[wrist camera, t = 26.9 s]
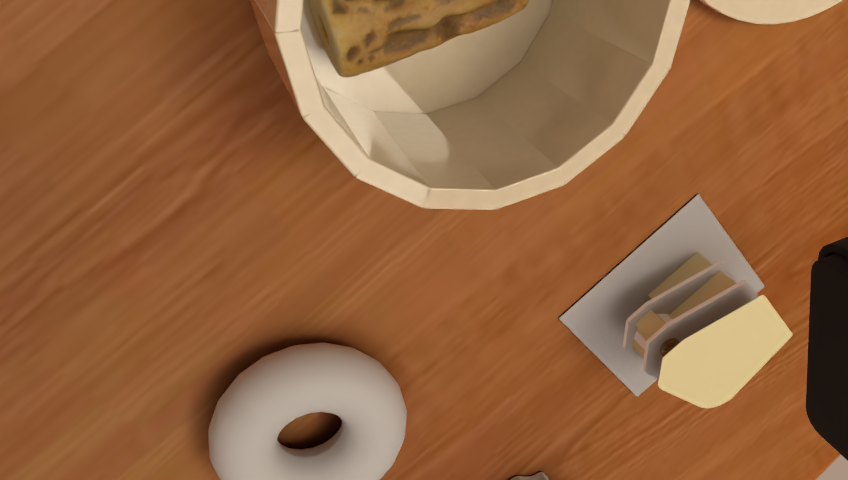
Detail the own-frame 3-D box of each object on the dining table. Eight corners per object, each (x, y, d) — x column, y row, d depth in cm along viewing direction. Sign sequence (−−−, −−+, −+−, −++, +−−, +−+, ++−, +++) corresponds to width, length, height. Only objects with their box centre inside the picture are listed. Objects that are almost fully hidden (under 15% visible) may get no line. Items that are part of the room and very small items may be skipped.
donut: (341, 497, 46) (431, 361, 43) (354, 545, 43) (451, 402, 40) (172, 459, 41) (260, 303, 38) (173, 509, 38) (269, 345, 36)
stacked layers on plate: (697, 193, 43) (764, 240, 39) (764, 286, 48) (830, 337, 43) (558, 318, 44) (606, 377, 40) (636, 396, 49) (688, 458, 45)
